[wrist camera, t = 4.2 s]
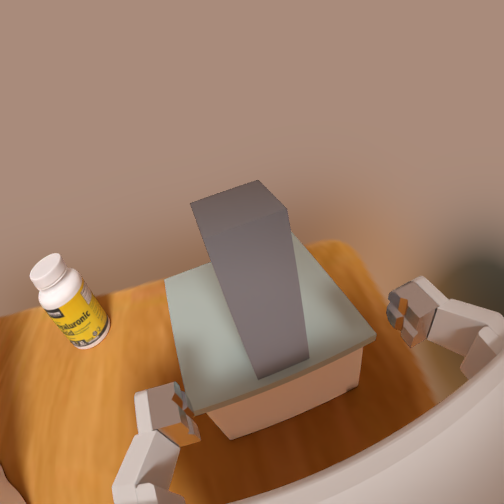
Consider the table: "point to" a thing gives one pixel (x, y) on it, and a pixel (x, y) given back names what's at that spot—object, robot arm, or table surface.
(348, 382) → the carton
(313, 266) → the carton lid
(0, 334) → the table surface
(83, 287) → the supplement bottle
